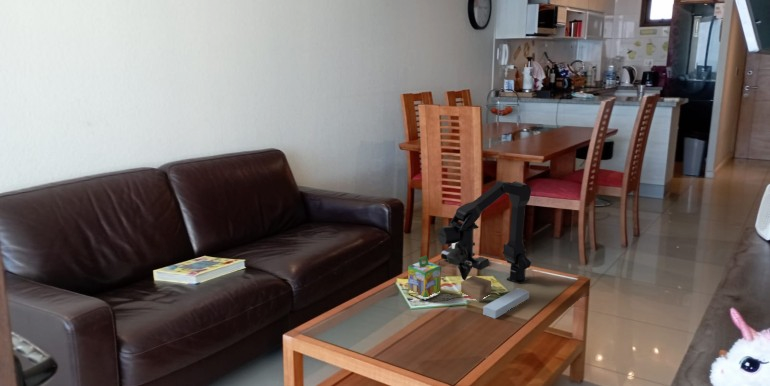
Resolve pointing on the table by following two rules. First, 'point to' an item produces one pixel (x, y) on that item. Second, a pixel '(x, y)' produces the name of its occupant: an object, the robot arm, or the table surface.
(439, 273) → the chalk box
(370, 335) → the table surface
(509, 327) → the table surface
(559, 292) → the table surface
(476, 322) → the table surface
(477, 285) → the block
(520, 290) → the pale grey long bar
